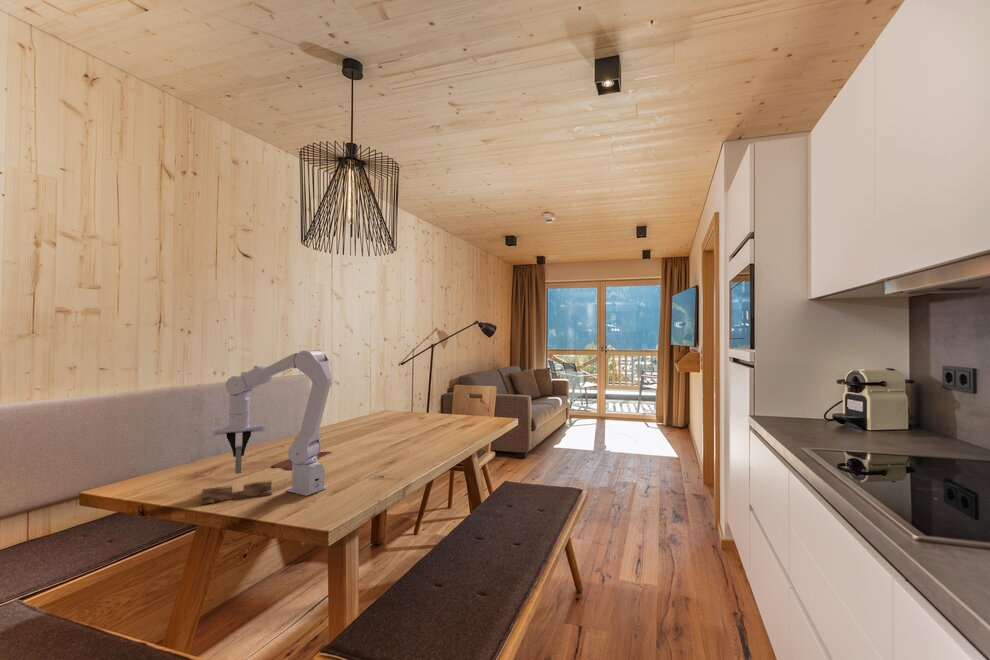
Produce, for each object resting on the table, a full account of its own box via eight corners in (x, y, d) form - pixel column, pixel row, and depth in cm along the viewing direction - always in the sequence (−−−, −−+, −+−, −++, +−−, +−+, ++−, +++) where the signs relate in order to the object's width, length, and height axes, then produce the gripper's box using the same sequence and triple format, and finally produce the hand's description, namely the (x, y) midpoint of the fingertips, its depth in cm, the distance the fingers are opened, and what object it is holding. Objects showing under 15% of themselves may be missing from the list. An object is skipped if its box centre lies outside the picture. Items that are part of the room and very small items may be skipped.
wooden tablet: (291, 472, 163) (291, 468, 163) (268, 469, 165) (268, 465, 165) (336, 453, 188) (336, 449, 188) (316, 451, 191) (316, 447, 191)
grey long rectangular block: (241, 473, 141) (241, 450, 141) (235, 473, 140) (235, 451, 140) (241, 464, 150) (241, 443, 150) (235, 465, 149) (236, 444, 149)
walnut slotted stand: (270, 489, 142) (270, 478, 143) (271, 494, 138) (271, 483, 138) (202, 499, 134) (203, 487, 134) (201, 505, 129) (201, 492, 129)
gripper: (264, 409, 152) (263, 450, 152) (213, 413, 145) (212, 455, 145) (265, 413, 146) (264, 455, 146) (212, 416, 139) (211, 460, 139)
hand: (238, 455), depth 145 cm, fingers closed on grey long rectangular block, 2 cm apart
